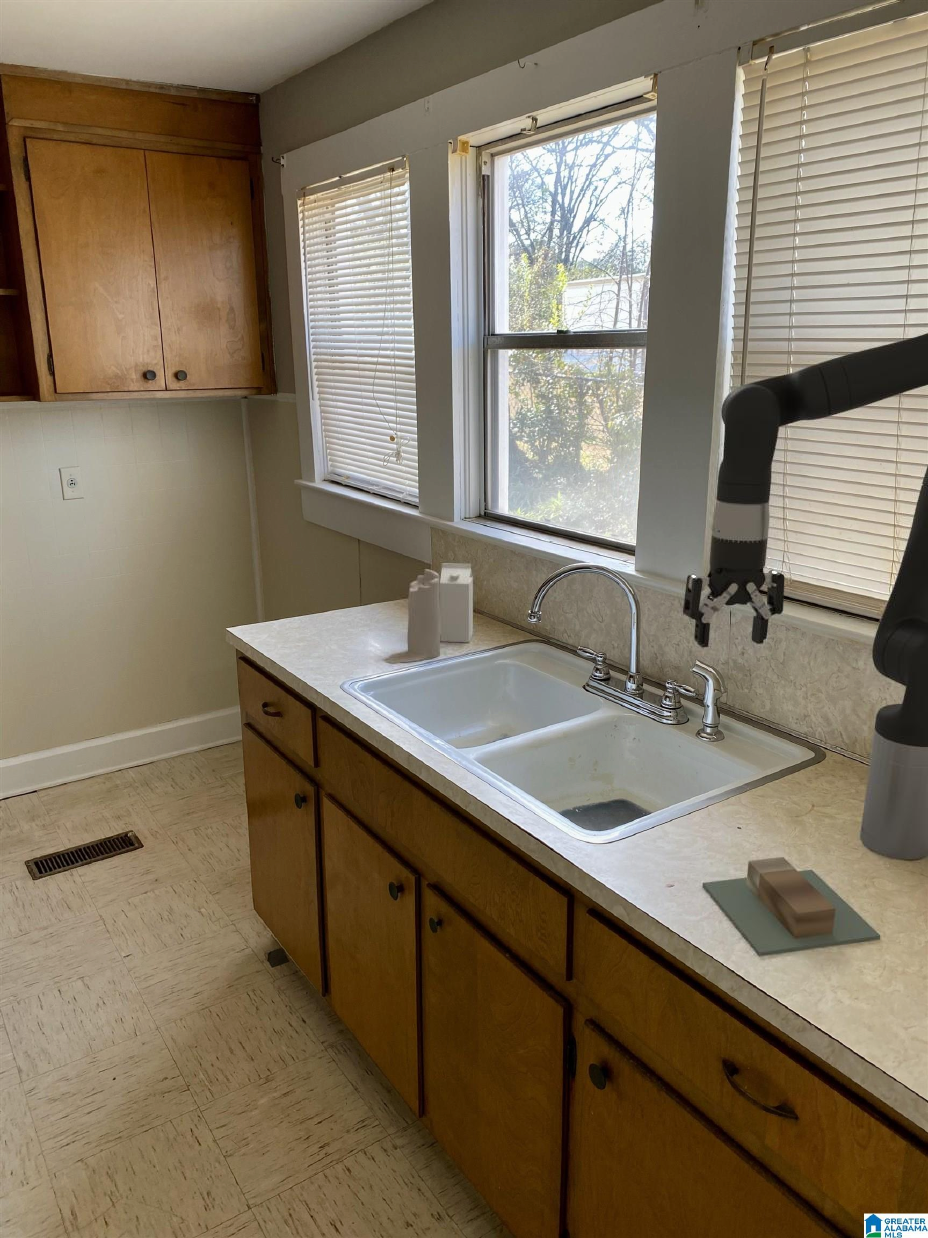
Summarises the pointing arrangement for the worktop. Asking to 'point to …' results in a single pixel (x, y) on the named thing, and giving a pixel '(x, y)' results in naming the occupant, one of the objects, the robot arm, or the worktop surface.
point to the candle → (422, 620)
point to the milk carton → (456, 602)
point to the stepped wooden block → (790, 897)
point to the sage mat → (769, 931)
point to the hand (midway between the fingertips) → (730, 644)
